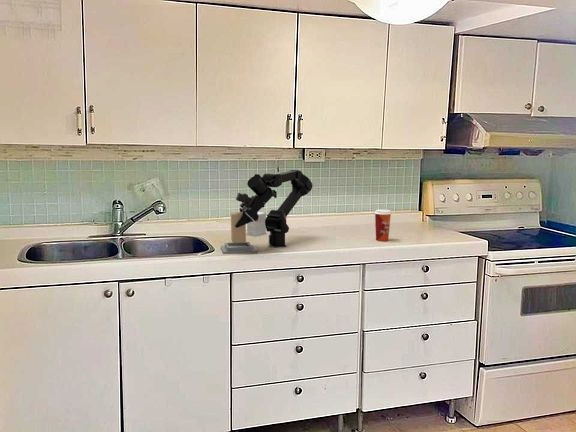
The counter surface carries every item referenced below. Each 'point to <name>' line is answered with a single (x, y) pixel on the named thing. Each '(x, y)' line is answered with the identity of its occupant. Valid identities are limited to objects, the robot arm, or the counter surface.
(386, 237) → the paper cup
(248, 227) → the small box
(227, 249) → the tray
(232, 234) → the carton
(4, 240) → the counter surface
